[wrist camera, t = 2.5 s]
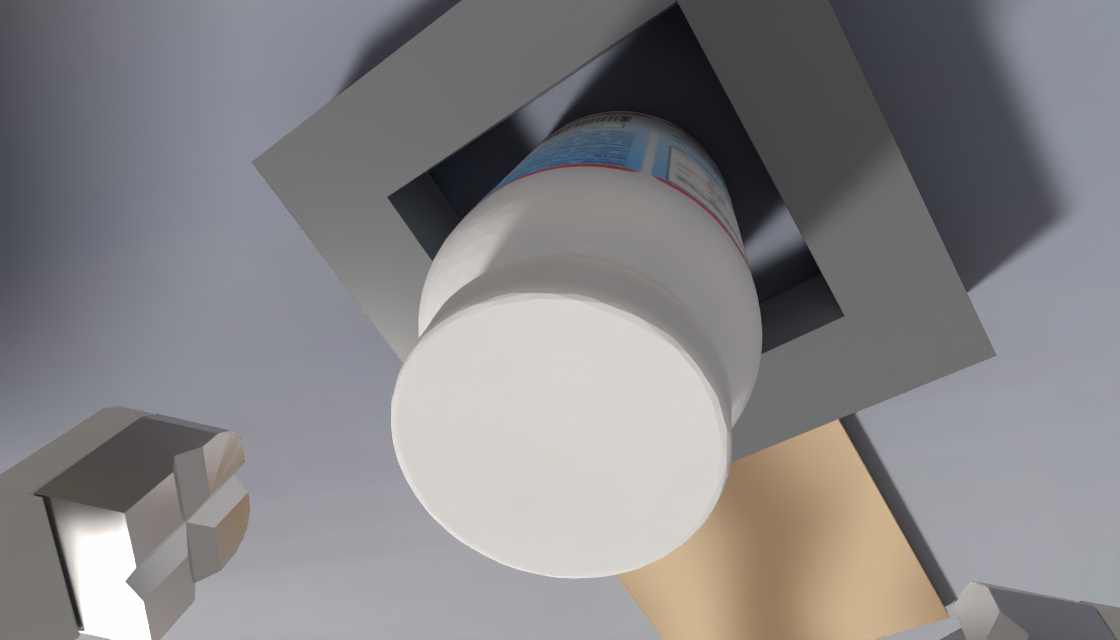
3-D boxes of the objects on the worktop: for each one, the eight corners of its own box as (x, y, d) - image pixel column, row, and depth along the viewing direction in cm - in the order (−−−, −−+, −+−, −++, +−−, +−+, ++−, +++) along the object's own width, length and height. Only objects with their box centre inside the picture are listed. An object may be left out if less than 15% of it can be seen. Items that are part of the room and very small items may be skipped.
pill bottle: (497, 290, 21) (318, 553, 11) (540, 81, 18) (355, 167, 8) (694, 344, 20) (701, 670, 10) (766, 141, 18) (871, 309, 8)
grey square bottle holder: (554, 479, 23) (537, 540, 20) (310, 141, 20) (251, 162, 17) (951, 305, 19) (996, 355, 16) (723, -169, 15) (731, -208, 13)
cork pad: (698, 679, 26) (698, 688, 25) (570, 501, 23) (568, 509, 23) (945, 608, 23) (949, 617, 22) (825, 394, 20) (828, 401, 20)
